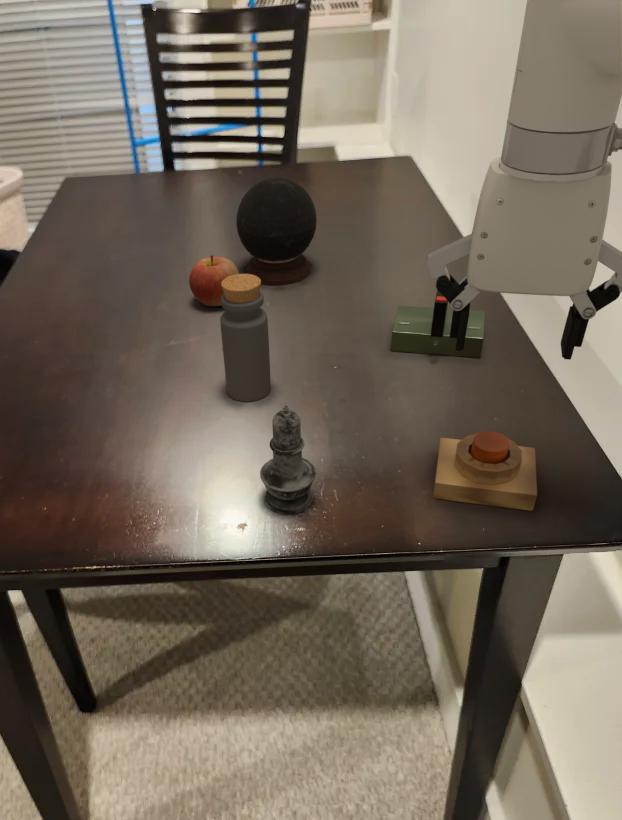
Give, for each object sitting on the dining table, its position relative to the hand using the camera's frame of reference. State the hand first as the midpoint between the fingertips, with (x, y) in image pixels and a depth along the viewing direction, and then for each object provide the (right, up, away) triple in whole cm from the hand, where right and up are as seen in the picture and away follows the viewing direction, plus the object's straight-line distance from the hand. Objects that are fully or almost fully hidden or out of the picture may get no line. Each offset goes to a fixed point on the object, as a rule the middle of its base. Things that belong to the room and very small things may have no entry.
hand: (511, 347), depth 64 cm
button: (+1, -9, +8) cm, 12 cm away
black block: (+2, +10, +31) cm, 32 cm away
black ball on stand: (-19, +25, +55) cm, 63 cm away
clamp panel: (+2, +8, +33) cm, 33 cm away
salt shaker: (-20, -14, +11) cm, 27 cm away
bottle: (-24, 0, +27) cm, 37 cm away
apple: (-30, +18, +47) cm, 58 cm away
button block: (+1, -12, +11) cm, 16 cm away
